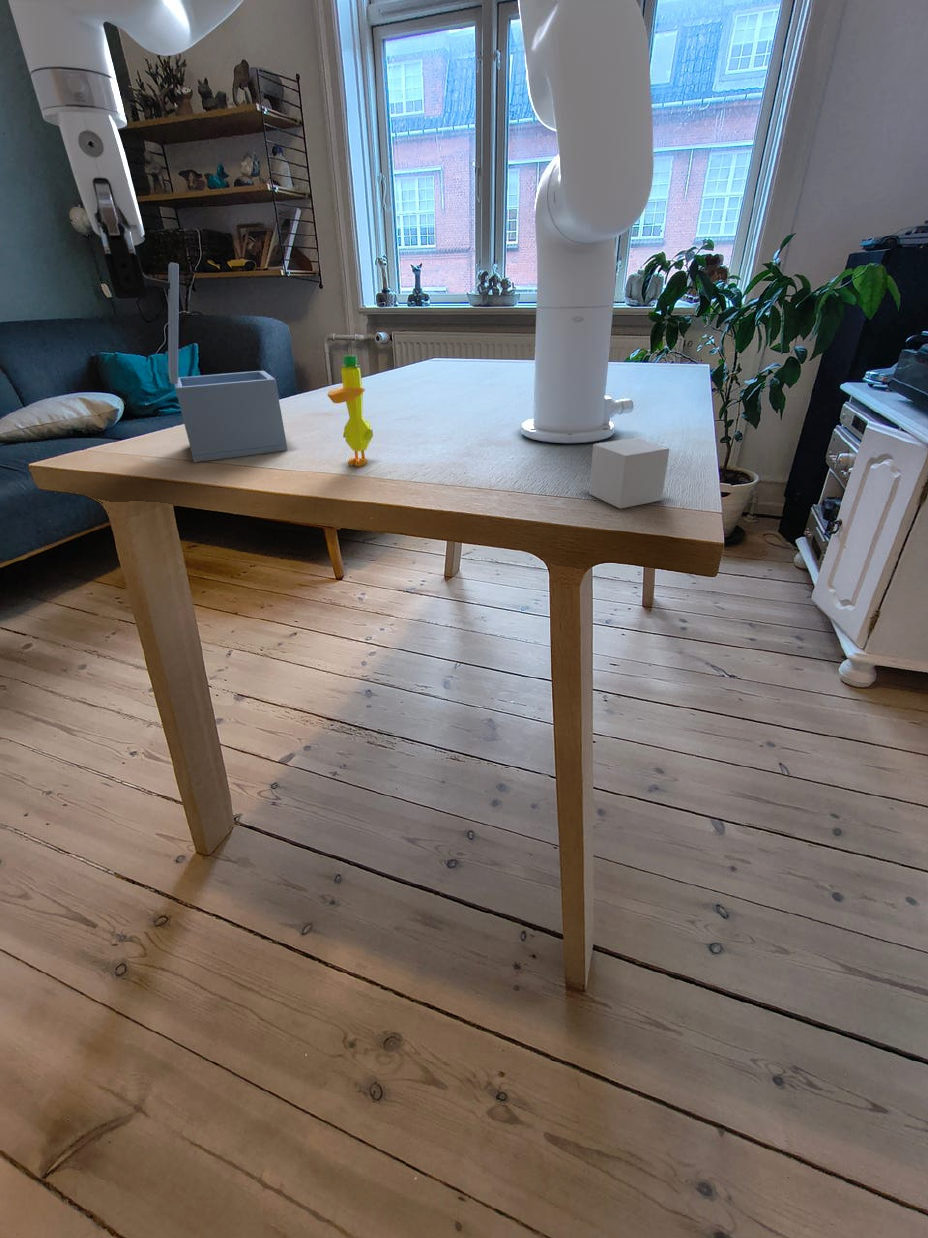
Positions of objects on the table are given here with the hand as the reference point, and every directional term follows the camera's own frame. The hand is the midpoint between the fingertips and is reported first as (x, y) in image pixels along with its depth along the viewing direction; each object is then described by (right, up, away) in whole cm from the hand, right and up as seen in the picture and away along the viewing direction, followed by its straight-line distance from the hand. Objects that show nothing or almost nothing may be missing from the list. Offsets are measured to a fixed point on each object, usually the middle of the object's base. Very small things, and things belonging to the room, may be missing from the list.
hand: (133, 297), depth 68 cm
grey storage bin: (+7, -14, +12) cm, 20 cm away
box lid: (+4, -2, +3) cm, 5 cm away
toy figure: (+25, -19, +3) cm, 31 cm away
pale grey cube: (+54, -25, -10) cm, 60 cm away
